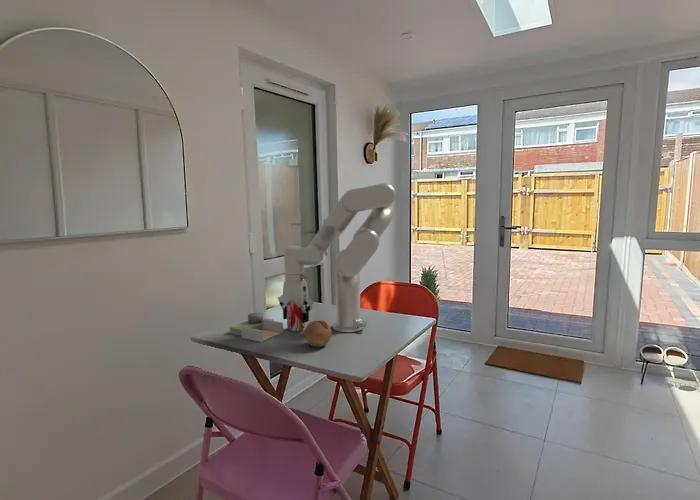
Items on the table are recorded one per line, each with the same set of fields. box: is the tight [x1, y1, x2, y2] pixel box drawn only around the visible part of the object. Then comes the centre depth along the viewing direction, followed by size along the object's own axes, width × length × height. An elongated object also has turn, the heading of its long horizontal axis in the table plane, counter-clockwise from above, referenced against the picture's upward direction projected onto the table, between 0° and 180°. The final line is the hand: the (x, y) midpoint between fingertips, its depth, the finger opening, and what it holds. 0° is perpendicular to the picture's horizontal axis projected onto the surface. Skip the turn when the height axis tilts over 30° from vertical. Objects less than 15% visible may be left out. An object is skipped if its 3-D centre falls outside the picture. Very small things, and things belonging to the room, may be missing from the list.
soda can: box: [286, 301, 306, 333], centre depth 155 cm, size 7×7×12 cm
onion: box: [303, 320, 332, 348], centre depth 137 cm, size 10×9×10 cm
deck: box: [229, 312, 284, 343], centre depth 153 cm, size 18×18×5 cm
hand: (295, 320), depth 155 cm, fingers open, 9 cm apart
